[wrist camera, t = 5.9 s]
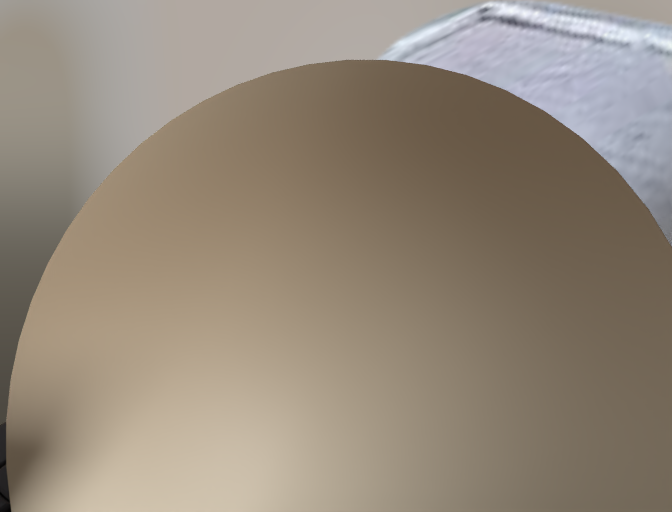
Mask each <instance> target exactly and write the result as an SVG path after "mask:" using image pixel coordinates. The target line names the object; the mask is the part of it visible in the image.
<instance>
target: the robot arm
mask: <svg viewBox="0 0 672 512" xmlns="http://www.w3.org/2000/svg"><path fill="white" fill-rule="evenodd" d="M0 512H11V504H10V495H9V486H8V477H7V468H6V422H5V423H3V424H1V425H0Z"/></svg>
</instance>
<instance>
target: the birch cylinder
mask: <svg viewBox="0 0 672 512" xmlns="http://www.w3.org/2000/svg"><path fill="white" fill-rule="evenodd" d="M6 468H7V477H8V486H9V495H10V504H11V512H672V247H671V245H670V243H669V242H668V240H667V239H666V237H665V235H664V234H663V232H662V230H661V229H660V227H659V226H658V224H657V222H656V221H655V219H654V218H653V216H652V214H651V213H650V211H649V209H648V208H647V207H646V206H645V204H644V203H643V202H642V201H641V200H640V198H639V197H638V196H637V195H636V193H635V192H634V191H633V190H632V189H631V187H630V186H629V185H628V184H627V182H626V181H625V180H624V179H623V178H622V176H621V175H620V174H619V173H618V171H617V170H616V169H615V168H614V167H612V166H611V165H610V164H609V163H608V162H607V161H606V160H605V159H604V158H603V157H602V156H601V155H600V154H599V153H597V152H596V151H595V150H594V149H593V148H592V147H591V146H590V145H589V144H588V143H587V142H586V141H585V140H584V139H583V138H581V137H580V136H579V135H577V134H576V133H574V132H573V131H572V130H570V129H569V128H567V127H566V126H565V125H563V124H562V123H560V122H559V121H558V120H556V119H555V118H553V117H552V116H551V115H549V114H548V113H546V112H545V111H543V110H541V109H540V108H538V107H536V106H534V105H532V104H530V103H528V102H527V101H525V100H523V99H521V98H519V97H517V96H515V95H514V94H512V93H510V92H508V91H506V90H504V89H501V88H498V87H496V86H493V85H491V84H488V83H485V82H483V81H480V80H478V79H475V78H473V77H470V76H467V75H464V74H460V73H456V72H452V71H448V70H444V69H440V68H436V67H432V66H428V65H421V64H413V63H405V62H397V61H389V60H343V61H335V62H325V63H317V64H309V65H304V66H300V67H296V68H291V69H287V70H282V71H278V72H273V73H270V74H267V75H264V76H261V77H258V78H256V79H253V80H250V81H247V82H244V83H241V84H238V85H236V86H234V87H232V88H229V89H227V90H225V91H223V92H221V93H219V94H217V95H215V96H213V97H211V98H209V99H206V100H204V101H203V102H201V103H199V104H197V105H196V106H194V107H193V108H191V109H189V110H188V111H186V112H184V113H183V114H181V115H180V116H178V117H176V118H175V119H173V120H171V121H170V122H169V123H167V124H166V125H165V126H164V127H162V128H161V129H160V130H158V131H157V132H156V133H154V135H152V136H150V137H149V138H148V139H147V140H145V141H144V142H143V143H141V144H140V145H139V146H138V147H137V148H136V149H135V150H134V151H133V152H132V153H131V154H130V155H129V156H128V157H127V158H125V159H124V160H123V161H122V162H121V163H120V164H119V165H118V166H117V167H116V168H115V169H114V170H113V171H112V172H111V173H110V175H109V176H108V177H107V178H106V179H105V180H104V181H103V183H102V184H101V185H100V186H99V187H98V189H97V190H96V191H95V192H94V193H93V194H92V196H91V197H90V198H89V199H88V200H87V202H86V203H85V205H84V206H83V208H82V209H81V211H80V212H79V213H78V215H77V216H76V218H75V219H74V220H73V222H72V223H71V225H70V226H69V228H68V229H67V231H66V232H65V234H64V236H63V238H62V239H61V241H60V243H59V245H58V247H57V249H56V250H55V252H54V254H53V256H52V257H51V259H50V261H49V263H48V265H47V267H46V269H45V271H44V274H43V276H42V279H41V281H40V283H39V285H38V288H37V290H36V292H35V295H34V297H33V299H32V301H31V305H30V308H29V311H28V314H27V318H26V320H25V323H24V327H23V330H22V333H21V336H20V339H19V343H18V348H17V353H16V358H15V363H14V367H13V372H12V377H11V383H10V392H9V402H8V411H7V421H6Z"/></svg>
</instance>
